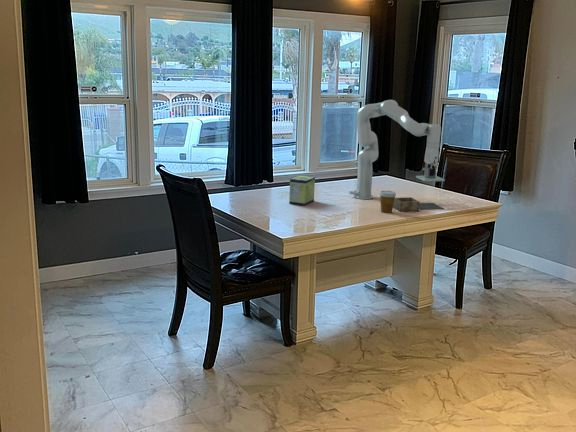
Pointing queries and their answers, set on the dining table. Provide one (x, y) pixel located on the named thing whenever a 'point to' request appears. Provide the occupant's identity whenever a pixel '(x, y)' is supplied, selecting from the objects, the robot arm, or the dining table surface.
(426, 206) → the rubber mat
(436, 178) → the lid
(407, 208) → the storage box
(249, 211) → the dining table surface
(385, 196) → the disposable coffee cup
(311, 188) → the protein box
